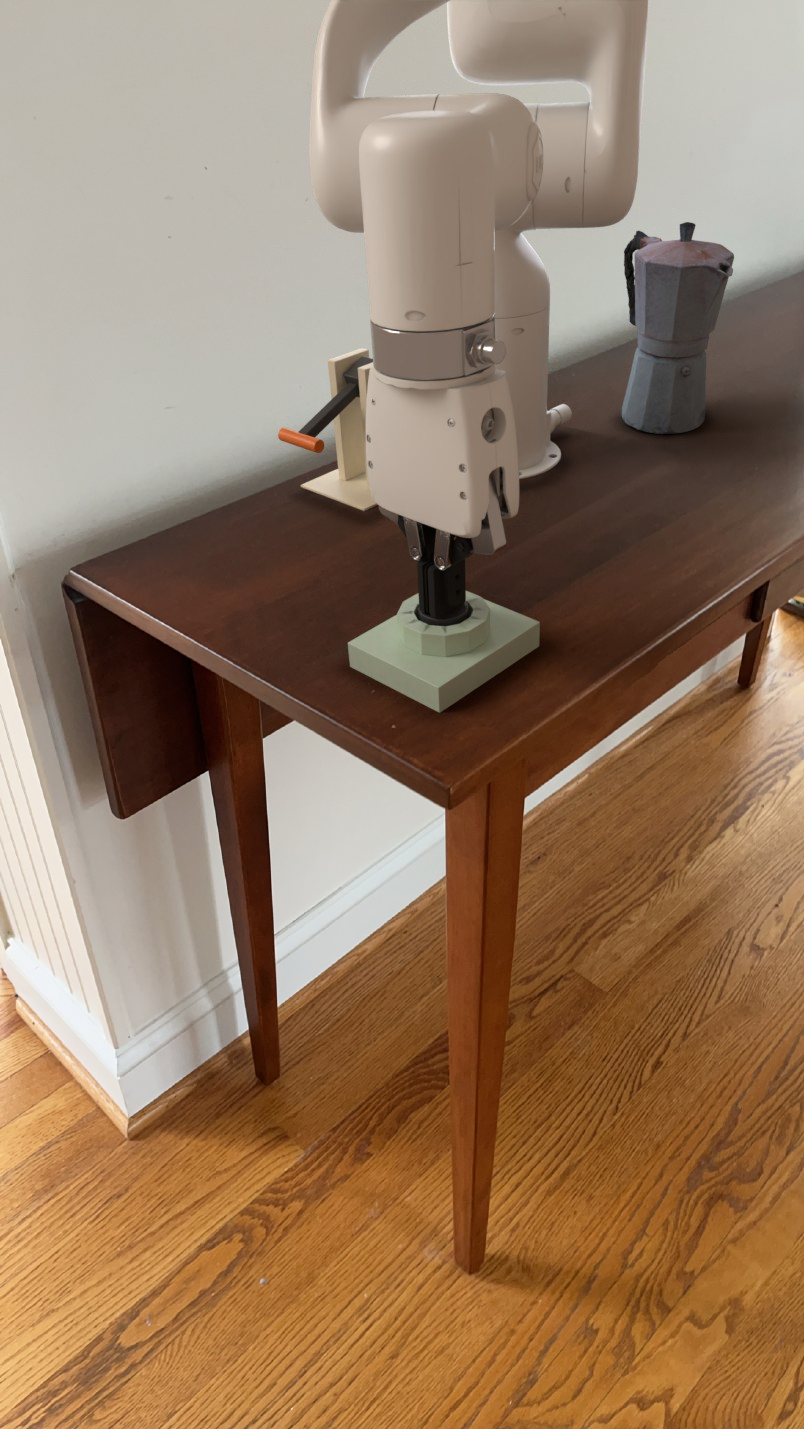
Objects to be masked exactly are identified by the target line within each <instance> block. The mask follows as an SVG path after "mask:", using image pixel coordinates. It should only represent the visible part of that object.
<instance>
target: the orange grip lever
mask: <svg viewBox="0 0 804 1429" xmlns="http://www.w3.org/2000/svg"><path fill="white" fill-rule="evenodd" d="M372 362H373V358H371V357H369V358H367V357H363V356H362V357H361V358H360V359H359V360H357V361H356V362H355V363H354V364H353V365H352V366H351V367H350V368H349V369H348V370H347V371H346V372H345V373H344V374H343V376H344V378H345V381H346V383H347V385H346V386H345V387H344V388H343V389H342V390H341V391H340V392H339V393H338V394H337V395H336V396H335V397H334V398H333V399H331V400H329V401H328V402H327V403H326V404H325V405H324V406H323V407H322V408H321V409H320V410H319V411H318V412H317V413H316V414H314V416H313V417H312V418H311V419H310V420H308V421H307V423H306V424H305V425H304V426H302V427H301V428H300V430H298V431H296V430H293V429H290V428H287V427H281V428H280V429H279V430H278V433H277V438H278V439H279V440H280V441H281V442H284V443H287V444H290V445H293V446H296V447H298V448H302V449H303V450H304V449H305V450H308V451H311V452H313V453H315V454H321V453H322V452H323V451H324V449H325V442H324V440H323V439H320V438H318V437H317V436H318V435H320V433H321V432H322V431H324V430H325V428H327V427H328V426H329V424H331V423H332V422H333V421H334V420H333V419H334V418H335V417H337V416H338V415H339V414H340V413H341V412H342V411H343V410H344V409H345V408H346V407H347V406H348V405H349V404H350V403H351V402H352V401H353V400H354V399H355V398H356V397H359V398H360V391H359V379H358V368H359V367H361V366H364V365H367V364H370V363H372Z"/></svg>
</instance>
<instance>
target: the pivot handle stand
mask: <svg viewBox="0 0 804 1429" xmlns="http://www.w3.org/2000/svg"><path fill="white" fill-rule="evenodd" d="M362 356H363V357H367V358H370V350H369V349H367V348H365V347H364V348H363V347H360V348H358V349H355V350H352V351H350V352H347V353H344V354H340V355H338V356H335V357H332V358H330V359H328V360H327V368H328V378H329V379H328V380H329V388H330V398H331V400H332V399H333V398H334V397H335V396H336V395H337V394H338V393H339V392H340V391H341V390H342V389H343V388H344V387H345V386H346V385H347V383H346V381H345V378H344V376H343V374H344V373H345V372H346V371H347V370H348V369H349V368H350V367H351V366H352V365H353V364H354V363H355V362H356V361H357V360H359V359H360V358H361V357H362ZM372 364H373V362H372V363H370V364H367V365H364V366H361V367H359V368H358V379H359V391H360V398H359V397H356V398H355V399H354V400H353V401H352V402H351V403H350V404H349V405H348V406H347V407H346V408H345V409H344V410H343V411H342V412H341V413H340V414H339V415H338V416H337V417H335V418H334V419H333V420H332V421H333V429H334V430H333V431H334V440H335V448H336V459H337V468H336V469H334V470H332V471H329V472H327V473H325V474H322V475H320V476H318V477H316V478H313V479H311V480H308V481H306V482H305V483H302V484H300V488H302V489H305V490H308V491H309V492H313V493H316V494H318V495H321V496H324V497H325V498H329V499H331V500H334V501H336V502H339V503H342V504H345V505H346V506H350V507H351V508H352V507H353V508H354V509H357V510H360V511H362V512H365V511H368V510H370V509H372V508H374V507H376V506H378V504H377V503H376V502H375V501H374V500H373V498H372V495H371V492H370V487H369V480H368V472H367V459H366V401H367V388H368V379H369V371H370V366H371V365H372Z"/></svg>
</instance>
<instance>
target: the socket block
mask: <svg viewBox="0 0 804 1429" xmlns="http://www.w3.org/2000/svg"><path fill="white" fill-rule="evenodd" d="M465 601H466V602H467V604H468V609H469V618H468V619H466V620H465V621H463V622H461V623H460V624H455V625H450V626H434V625H428V624H426V623H424V622H421V621H419V613H418V607H419V593H418V592H417V593H416V594H414V595H412V596H410V597H408V598H406V599H405V600H403V601H402V603H401V604H400V607H399V609H398V611H397V613H396V615H393V616H392V617H390V618H388V619H386V620H385V621H383V622H381V623H379V624H378V625H375V627H373V628H371V629H368V630H367V631H366V632H363V633H362V634H360V635H359V636H357V637H355V638H354V639H352V640H350V641H348V642H347V650H348V651H347V652H348V659H349V660H348V661H349V667H350V668H352V669H353V670H355V671H358V672H360V673H361V674H363V675H365V676H367V677H369V678H371V679H373V680H375V681H377V682H379V683H380V684H383V685H385V686H387V687H389V688H391V689H393V690H395V691H396V692H398V693H400V694H402V695H404V696H406V697H408V698H410V699H412V700H414V701H415V702H418V703H419V704H422V705H424V706H425V707H427V708H429V709H431V710H433V711H435V712H437V713H442V712H443V711H445V710H447V709H448V708H449V707H450V706H452V705H454V704H455V703H457V702H459V700H462V699H463V698H465V696H467V695H469V694H470V693H472V692H473V691H474V690H476V689H477V688H479V687H480V686H482V685H483V684H486V682H488V681H489V680H491V679H492V678H494V677H495V676H497V675H498V674H500V673H502V672H503V671H504V670H506V669H507V668H509V667H510V666H512V665H513V664H515V663H516V662H518V661H519V660H521V659H523V658H524V657H525V656H527V655H529V654H530V653H532V652H533V651H534V650H536V649H537V648H539V647H540V632H541V629H540V628H541V622H540V621H538V620H536V619H534V618H531V617H528V616H527V615H524V614H522V613H520V612H517V611H514V610H512V609H509V608H507V607H504V606H502V605H500V604H497V603H495V602H492V601H490V600H487V599H485V598H483V597H482V596H480V595H478V594H476V593H473V592H471V591H468V590H466V600H465Z"/></svg>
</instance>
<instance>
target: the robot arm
mask: <svg viewBox="0 0 804 1429" xmlns="http://www.w3.org/2000/svg"><path fill="white" fill-rule="evenodd" d="M445 4H446V13H447V14H446V18H447V37H448V45H449V54H450V58H451V62H452V65H453V67H454V69H455V72H456V73H457V74H458V75H459V76H460V78H462V79H463V80H465V81H467V82H469V83H473V84H477V85H482V86H484V85H485V86H523V85H526V86H527V85H546V84H547V85H548V84H564V83H565V84H566V83H567V84H568V83H574V84H575V83H576V84H579V85H581V87H583V88H584V89H585V90H586V91H587V93H588V96H589V101H571V102H553V103H540V102H532V103H531V102H529V103H524V102H522V101H521V100H520V99H519V98H516V97H514V96H511V95H508V94H504V93H498V92H497V93H496V92H474V93H471V92H470V93H455V94H454V93H452V94H440V93H430V94H429V93H428V94H412V95H411V94H409V95H407V94H405V95H386V96H385V95H384V96H371V97H365V93H366V88H367V84H368V81H369V78H370V75H371V73H372V70H374V69H373V68H374V66H376V63H377V62H378V60H379V59H380V57H381V55H382V54H383V53H384V51H385V50H386V49H387V48H388V46H389V45H390V44H392V42H393V41H394V40H395V39H396V38H397V37H399V35H401V34H402V33H403V32H404V31H405V30H406V29H408V28H409V27H411V26H412V25H413V24H415V23H416V22H417V21H420V20H421V19H423V18H424V17H425V16H428V15H429V14H430V13H432V12H434V11H436V10H437V9H439V8H440V7H442V6H444V5H445ZM648 23H649V0H330V1H329V4H328V6H327V8H326V10H325V13H324V15H323V17H322V20H321V24H320V27H319V30H318V34H317V36H316V42H315V47H314V52H313V53H314V54H313V61H312V62H313V64H312V79H311V93H310V94H311V97H310V116H309V139H308V140H309V141H308V142H309V146H308V147H309V148H308V150H309V174H310V182H311V188H312V193H313V196H314V199H315V202H316V204H317V207H318V208H319V211H320V212H321V214H322V215H323V217H324V218H325V219H326V220H327V221H328V222H329V223H330V224H331V225H332V226H334V227H336V228H337V229H339V230H343V231H345V232H349V233H353V234H355V233H356V234H359V233H360V234H363V235H364V248H365V250H364V251H365V262H366V275H367V278H366V279H367V291H368V292H367V293H368V303H369V304H368V305H369V323H370V338H371V353H372V359H373V364H372V365H371V366H370V371H369V379H368V388H367V401H366V459H367V472H368V480H369V487H370V492H371V495H372V498H373V500H374V501H375V502H376V503H377V504H378V505H377V506H378V511H379V513H380V514H381V515H382V516H383V517H385V518H386V519H387V520H389V521H391V522H392V523H393V524H395V525H397V526H398V528H399V530H400V531H401V533H402V534H403V535H404V537H405V539H406V543H407V548H408V553H409V556H410V557H411V559H413V560H414V561H416V562H417V563H416V571H417V572H416V573H417V588H418V589H417V590H418V592H417V593H419V610H420V612H422V613H425V614H429V613H430V615H431V616H432V617H434V618H436V619H439V618H441V617H443V616H444V615H446V614H448V613H450V612H451V611H453V610H455V609H456V608H458V607H460V606H461V605H463V604H464V603H465V600H466V591H467V589H466V588H467V587H466V559H467V558H469V557H471V556H472V555H473V554H475V555H484V556H485V555H488V556H492V555H494V554H497V553H498V552H500V551H501V550H503V549H505V548H506V547H507V537H506V532H505V527H504V522H503V520H508V519H512V518H514V517H516V516H517V515H518V513H519V508H520V480H524V479H528V478H531V477H535V476H538V475H541V474H545V473H546V472H548V471H550V470H552V469H553V468H555V466H557V465H558V463H559V462H560V461H561V459H562V452H561V449H560V448H559V446H558V445H557V444H556V443H555V442H553V441H552V440H551V434H553V432H554V430H555V428H557V427H560V426H562V425H564V424H566V423H568V422H570V421H571V419H572V417H573V413H572V409H571V407H569V405H567V404H565V403H561V404H559V405H557V406H555V407H552V408H550V409H549V410H548V387H549V386H548V384H549V383H548V381H549V350H550V349H549V346H550V317H551V316H550V314H551V312H550V311H551V284H550V278H549V275H548V272H547V269H546V267H545V264H544V262H543V261H542V259H541V257H540V256H539V254H538V253H537V252H536V250H535V249H534V247H532V245H531V244H530V242H529V241H528V240H527V238H526V237H525V235H524V233H523V232H527V231H536V230H551V229H553V230H554V229H555V230H558V229H592V228H594V229H595V228H604V227H611V226H613V225H616V224H618V223H620V222H621V221H622V220H624V218H626V216H627V215H628V214H629V212H630V211H631V209H632V206H633V203H634V201H635V197H636V191H637V186H638V179H639V170H640V156H641V144H642V143H641V141H642V140H641V139H642V138H641V137H642V126H643V125H642V123H643V108H644V92H645V75H646V63H647V62H646V61H647V45H648V44H647V43H648V31H649V30H648V29H649V28H648V25H649V24H648Z"/></svg>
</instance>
